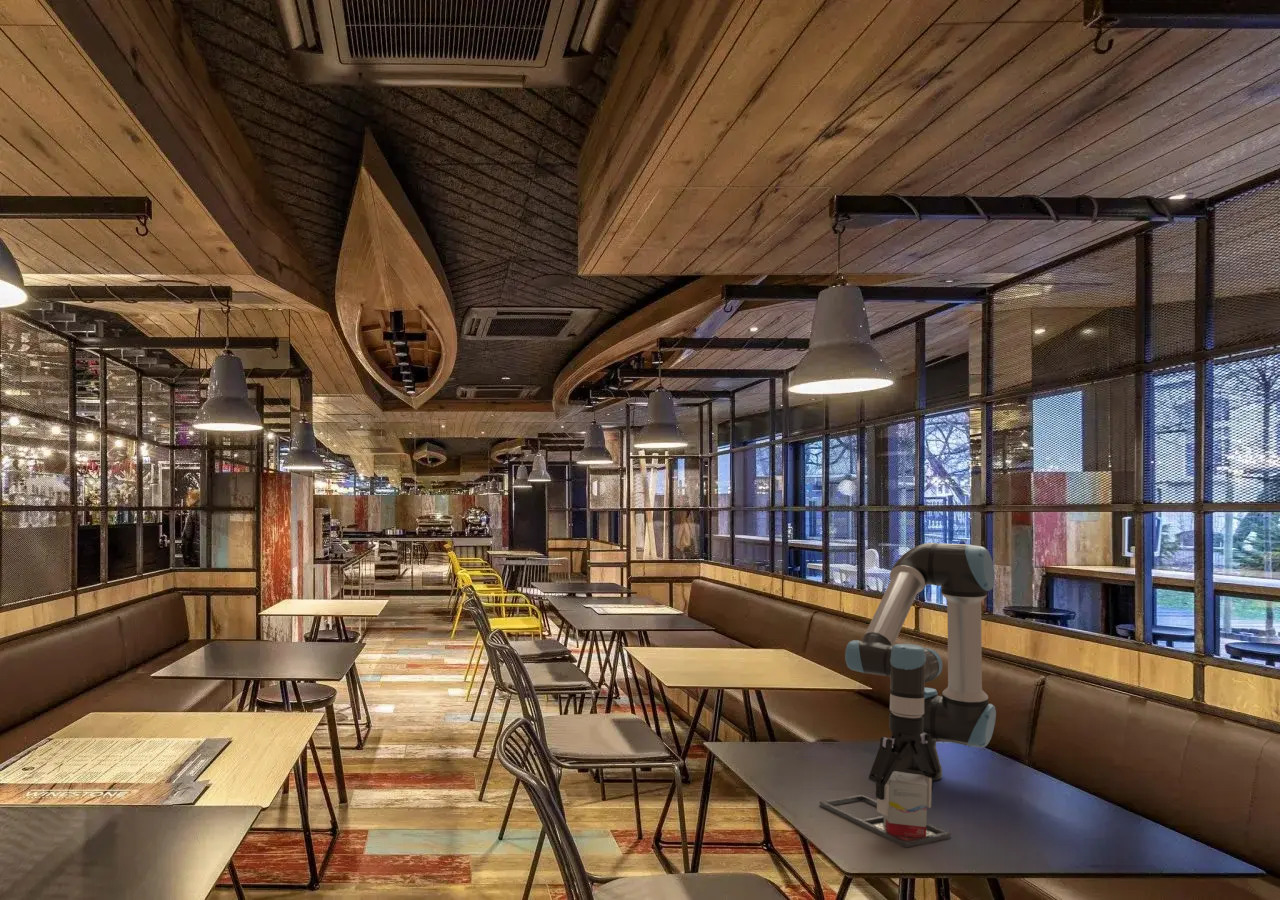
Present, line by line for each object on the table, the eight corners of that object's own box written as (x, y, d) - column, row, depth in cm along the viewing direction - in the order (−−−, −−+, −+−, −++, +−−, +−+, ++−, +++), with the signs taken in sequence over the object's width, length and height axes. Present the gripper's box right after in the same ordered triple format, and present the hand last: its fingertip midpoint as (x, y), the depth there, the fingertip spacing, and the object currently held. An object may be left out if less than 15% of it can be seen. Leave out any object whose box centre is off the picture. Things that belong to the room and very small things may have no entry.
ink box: (927, 839, 180) (928, 784, 181) (886, 834, 182) (888, 780, 183) (921, 825, 189) (923, 772, 190) (883, 821, 191) (884, 768, 191)
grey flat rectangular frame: (862, 798, 206) (862, 794, 206) (950, 837, 183) (950, 833, 183) (819, 805, 199) (819, 801, 199) (905, 847, 176) (905, 843, 176)
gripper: (931, 706, 197) (929, 797, 195) (854, 714, 184) (851, 811, 183) (957, 713, 190) (955, 807, 188) (879, 722, 178) (876, 823, 176)
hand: (904, 809), depth 186 cm, fingers open, 13 cm apart
